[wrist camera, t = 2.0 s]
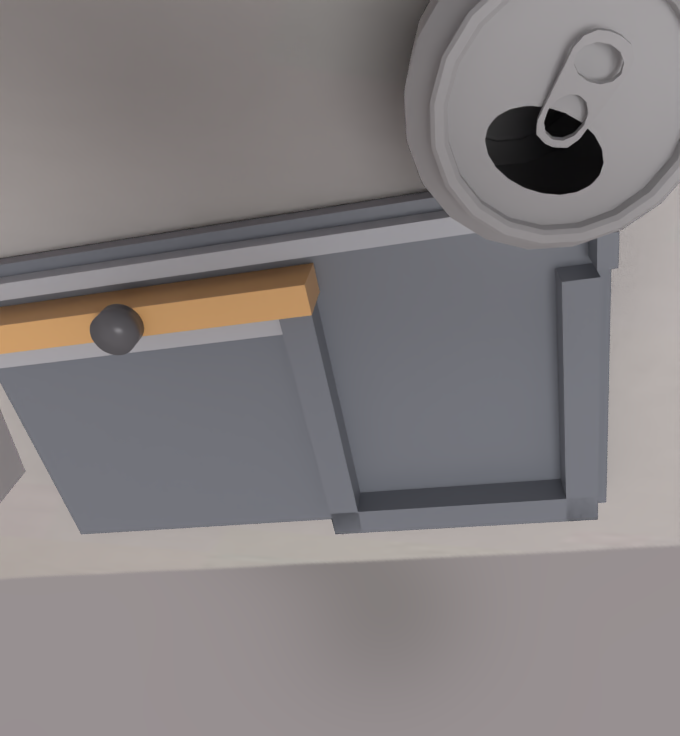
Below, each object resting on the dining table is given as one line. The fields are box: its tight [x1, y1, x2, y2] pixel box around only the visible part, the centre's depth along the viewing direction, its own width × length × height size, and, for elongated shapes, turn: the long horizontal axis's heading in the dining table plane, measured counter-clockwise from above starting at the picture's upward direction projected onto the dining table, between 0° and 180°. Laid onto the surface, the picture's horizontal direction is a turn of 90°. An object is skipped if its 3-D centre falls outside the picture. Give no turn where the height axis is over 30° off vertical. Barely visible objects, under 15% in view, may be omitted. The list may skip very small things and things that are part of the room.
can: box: [404, 0, 680, 249], centre depth 19 cm, size 8×8×12 cm
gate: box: [0, 263, 320, 355], centre depth 29 cm, size 17×2×3 cm, turn 101°
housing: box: [0, 191, 619, 534], centre depth 32 cm, size 30×17×2 cm, turn 101°
